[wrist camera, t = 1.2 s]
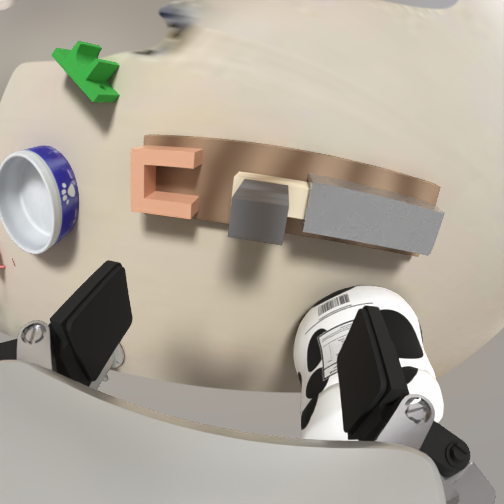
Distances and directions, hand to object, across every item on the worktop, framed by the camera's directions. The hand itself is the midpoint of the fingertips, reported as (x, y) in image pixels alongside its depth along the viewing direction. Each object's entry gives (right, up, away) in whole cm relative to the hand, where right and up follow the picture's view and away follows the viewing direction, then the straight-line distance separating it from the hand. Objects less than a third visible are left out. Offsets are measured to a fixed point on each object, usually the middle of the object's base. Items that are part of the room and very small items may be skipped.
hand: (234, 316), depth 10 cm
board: (+5, +9, +19) cm, 22 cm away
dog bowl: (-31, +12, +23) cm, 40 cm away
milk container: (+15, -8, +27) cm, 32 cm away
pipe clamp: (-18, +25, +14) cm, 34 cm away
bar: (+9, +8, +17) cm, 21 cm away
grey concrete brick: (+13, +7, +18) cm, 23 cm away
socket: (-8, +11, +18) cm, 23 cm away
